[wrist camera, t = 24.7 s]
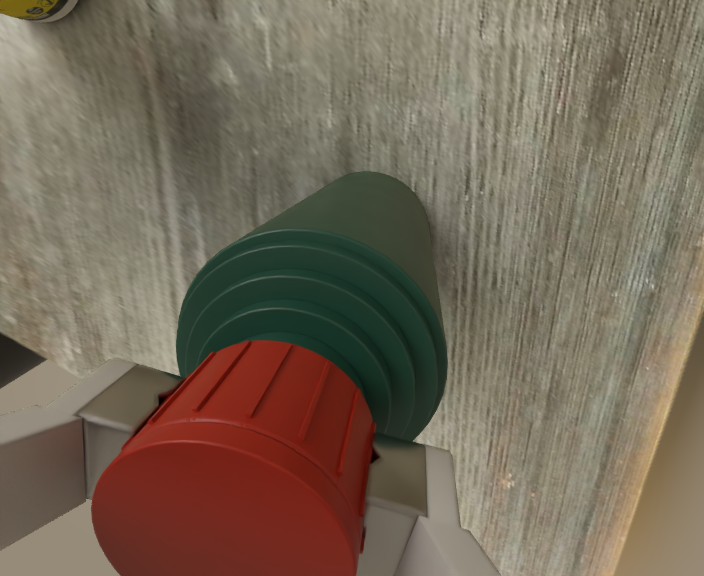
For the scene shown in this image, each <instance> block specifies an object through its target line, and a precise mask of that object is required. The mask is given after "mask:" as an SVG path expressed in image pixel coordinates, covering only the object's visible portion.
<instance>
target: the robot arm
mask: <svg viewBox="0 0 704 576" xmlns="http://www.w3.org/2000/svg"><path fill="white" fill-rule="evenodd" d="M186 379H187V378H183V377H180V376H177V375H174V374H170V373H167V372H164V371H161V370H157V369H154V368H151V367H148V366H144V365H139V364H136V363H133V362H130V361H126V360H123V359H120V358H114V359H109V360H108V361H106V362H105V363H104V364H102V365H101V366H100V367H98V368H97V369H96V370H94V371H93V372H91V373H90V374H89V375H87V376H86V377H85V378H83V379H82V380H81V381H79V382H78V383H77V384H75V385H74V386H73V387H71V388H70V389H69V390H67V391H66V392H65V393H63V394H62V395H60V396H59V397H58V398H56V399H55V400H54V401H52V402H51V403H50V404H48V405H47V406H45V407H42V406H39V405H35V406H31V407H27V408H24V409H20V410H17V411H13V412H10V413H6V414H3V415H0V550H2V549H4V548H6V547H7V546H9V545H11V544H13V543H14V542H16V541H18V540H20V539H21V538H23V537H25V536H27V535H28V534H30V533H32V532H34V531H35V530H37V529H39V528H40V527H42V526H44V525H46V524H47V523H49V522H51V521H53V520H55V519H56V518H58V517H60V516H61V515H63V514H65V513H67V512H69V511H70V510H72V509H74V508H75V507H77V506H79V505H81V504H83V503H84V502H86V499H90V500H92V497H93V493H94V490H95V487H96V484H97V482H98V480H99V478H100V477H101V475H102V473H103V472H104V470H105V469H106V468H107V467H108V466H109V465H110V463H111V462H112V461H113V460H114V459H115V458H116V457H117V456H118V455H119V454H120V452H121V451H122V450H121V448H122V446H123V445H124V444H125V443H126V441H127V440H128V439H129V438H130V437H131V436H132V437H135V436H136V435H137V433H138V432H139V431H140V430H141V429H142V428H143V427H144V426H145V425H146V424H147V423H148V421H149V420H150V418H151V417H152V416H153V415H154V414H155V413H156V412H157V411H158V410H159V406H160V405H161V404H162V403H163V402H164V401H165V399H166V398H167V397H168V396H169V395H173V393H174V392H175V391H176V390H177V389H178V388H179V387H180V386H181V385H182V384H183V383H184V382H185V380H186ZM372 452H373V453H372V460H371V464H370V465H369V469H368V477H367V484H366V492H365V504H366V505H365V513H364V517H363V530H362V538H365V542H364V550H363V554H359V561H358V568H357V576H501V574H500V573H499V572H498V570H497V569H496V567H495V566H494V564H493V563H492V562H491V560H490V559H489V557H488V556H487V555H486V553H485V552H484V550H483V549H482V547H481V546H480V545H479V543H478V542H477V540H476V539H475V538H474V536H473V535H472V533H471V532H470V531H469V530H466V529H463V528H461V524H460V516H459V507H458V499H457V491H456V482H455V474H454V466H453V457H452V454H451V452H450V451H449V450H445V449H441V448H437V447H433V446H429V445H425V444H424V445H422V444H419V443H416V442H412V441H408V440H405V439H401V438H397V437H394V436H390V435H386V434H383V433H379V432H375V433H374V434H373V441H372Z"/></svg>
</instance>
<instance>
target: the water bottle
mask: <svg viewBox="0 0 704 576" xmlns="http://www.w3.org/2000/svg"><path fill="white" fill-rule="evenodd" d="M248 340H250V341H254V340H272V341H280V342H286V343H291V344H295V345H298V346H301V347H303V348H306V349H309V350H311V351H313V352H315V353H317V354H319V355H321V356H323V357H324V358H327V359H328V360H329V361H331V362H332V363H334V364H335V365H336V366H337V367H339V368H340V369H341V370H342V371H343V372H344V373H345V374H346V375H347V376H348V377H349V378H350V379H351V380H352V381H353V382H354V383H355V384H356V386H357V388H359V389H360V390H361V393H362V395H363V397H364V399H365V401H366V403H367V404H368V407H369V410H370V412H371V415H372V419H373V422H375V423H376V430H375V432H379V433H383V434H386V435H390V436H394V437H397V438H401V439H405V440H408V441H412V442H413V440H414V439H415V438H416V437H417V436H418V435H419V434H420V433H421V432H422V431H423V429H424V428H425V427H426V426H427V424H428V423H429V422H430V420H431V419H432V417H433V415H434V414H435V412H436V410H437V408H438V406H439V403H440V401H441V398H442V396H443V393H444V388H445V384H446V380H447V368H448V359H447V346H446V340H445V333H444V326H443V319H442V312H441V305H440V299H439V292H438V285H437V278H436V271H435V264H434V258H433V251H432V244H431V237H430V230H429V224H428V219H427V215H426V213H425V210H424V207H423V206H422V204H421V202H420V200H419V199H418V198H417V196H416V195H415V194H414V192H413V191H412V190H411V189H410V188H409V187H407V186H406V185H405V184H404V183H402V182H401V181H399V180H397V179H396V178H393V177H391V176H389V175H386V174H382V173H377V172H357V173H352V174H348V175H345V176H343V177H341V178H338V179H337V180H335V181H334V182H332V183H330V184H329V185H327V186H325V187H324V188H322V189H320V190H319V191H317V192H316V193H314V194H312V195H311V196H309V197H307V198H306V199H304V200H302V201H301V202H299V203H298V204H296V205H294V206H293V207H291V208H289V209H288V210H286V211H285V212H283V213H281V214H280V215H278V216H276V217H275V218H273V219H271V220H270V221H268V222H267V223H265V224H263V225H262V226H260V227H258V228H257V229H255V230H253V231H252V232H250V233H249V234H247V235H245V236H244V237H242V238H240V239H239V240H237V241H236V242H234V243H232V244H231V245H229V246H227V247H226V248H224V249H223V250H221V251H220V252H218V253H217V254H216V255H215V256H214V257H213V258H211V259H210V260H209V261H208V262H207V263H206V264H205V265H204V267H203V268H202V269H201V270H200V271H199V272H198V274H197V275H196V277H195V278H194V280H193V281H192V283H191V285H190V286H189V288H188V291H187V293H186V295H185V298H184V300H183V303H182V307H181V311H180V315H179V322H178V330H177V340H176V353H177V363H178V368H179V373H180V376H181V377H183V378H186V377H187V376H188V375H189V374H192V373H193V372H194V371H195V370H196V368H197V367H198V366H199V365H200V364H201V363H202V362H203V361H204V360H205V359H206V358H207V357H208V355H209V354H210V353H211V352H213V351H214V352H215V353H216V352H218V351H220V350H221V349H224V348H226V347H229V346H231V345H234V344H238V343H243V342H245V341H248Z"/></svg>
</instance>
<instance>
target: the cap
mask: <svg viewBox="0 0 704 576" xmlns="http://www.w3.org/2000/svg"><path fill="white" fill-rule="evenodd" d="M186 378H187V379H186V380H185V382H184V383H183V384H182V385H181V386H180V387H179V388H178V389H177V390H176V391H175V392H174V393H173V395H169V396H168V397H167V398H166V399H165V401H164V402H163V403H162V404H161V405H160V406H159V410H158V411H157V412H156V413H155V414H154V415H153V416H152V417H151V418H150V420H149V421H148V423H147V424H146V425H145V426H144V427H143V428H142V429H141V430H140V431H139V432H138V433H137V435H136V436H135V437H132V436H131V437H130V438H129V439H128V440H127V441H126V443H125V444H124V445H123V446H122V448H121V450H122V451H121V452H120V454H119V455H118V456H117V457H116V458H115V459H114V460H113V461H112V462H111V463H110V465H109V466H108V467H107V468H106V469H105V470H104V472H103V473H102V475H101V477H100V478H99V480H98V482H97V484H96V487H95V490H94V493H93V497H92V506H91V512H92V523H93V527H94V531H95V534H96V537H97V539H98V542H99V545H100V547H101V548H102V550H103V552H104V554H105V556H106V557H107V559H108V560H109V562H110V563H111V564H112V566H113V567H114V569H115V570H116V571H117V572H118V573H119V574H120V575H121V576H357V568H358V561H359V554H363V550H364V542H365V538H362V530H363V517H364V513H365V505H366V504H365V492H366V484H367V477H368V469H369V465H370V464H371V460H372V453H373V452H372V441H373V434H374V433H375V430H376V423H375V422H373V419H372V415H371V412H370V410H369V407H368V404H367V403H366V401H365V399H364V397H363V395H362V393H361V390H360V389H359V388H357V386H356V384H355V383H354V382H353V381H352V380H351V379H350V378H349V377H348V376H347V375H346V374H345V373H344V372H343V371H342V370H341V369H340V368H339V367H337V366H336V365H335V364H334V363H332V362H331V361H329V360H328V359H327V358H324V357H323V356H321V355H319V354H317V353H315V352H313V351H311V350H309V349H306V348H303V347H301V346H298V345H295V344H291V343H286V342H280V341H272V340H254V341H250V340H248V341H245V342H243V343H238V344H234V345H231V346H229V347H226V348H224V349H221V350H220V351H218V352H216V353H215V352H214V351H213V352H211V353H210V354H209V355H208V357H207V358H206V359H205V360H204V361H203V362H202V363H201V364H200V365H199V366H198V367H197V368H196V370H195V371H194V372H193V373H192V374H189V375H188V376H187V377H186Z"/></svg>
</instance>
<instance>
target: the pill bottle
mask: <svg viewBox="0 0 704 576" xmlns="http://www.w3.org/2000/svg"><path fill="white" fill-rule="evenodd" d="M77 2H78V0H0V13H2V14H5V15H8V16H12V17H15V18H19V19H24V20H28V21H33V22H52V21H56V20H58V19H61V18H62V17H64V16H65V15H67V14H68V13H69V12H70V11H71V10H72V9H73V8H74V6H75V5H76V3H77Z"/></svg>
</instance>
